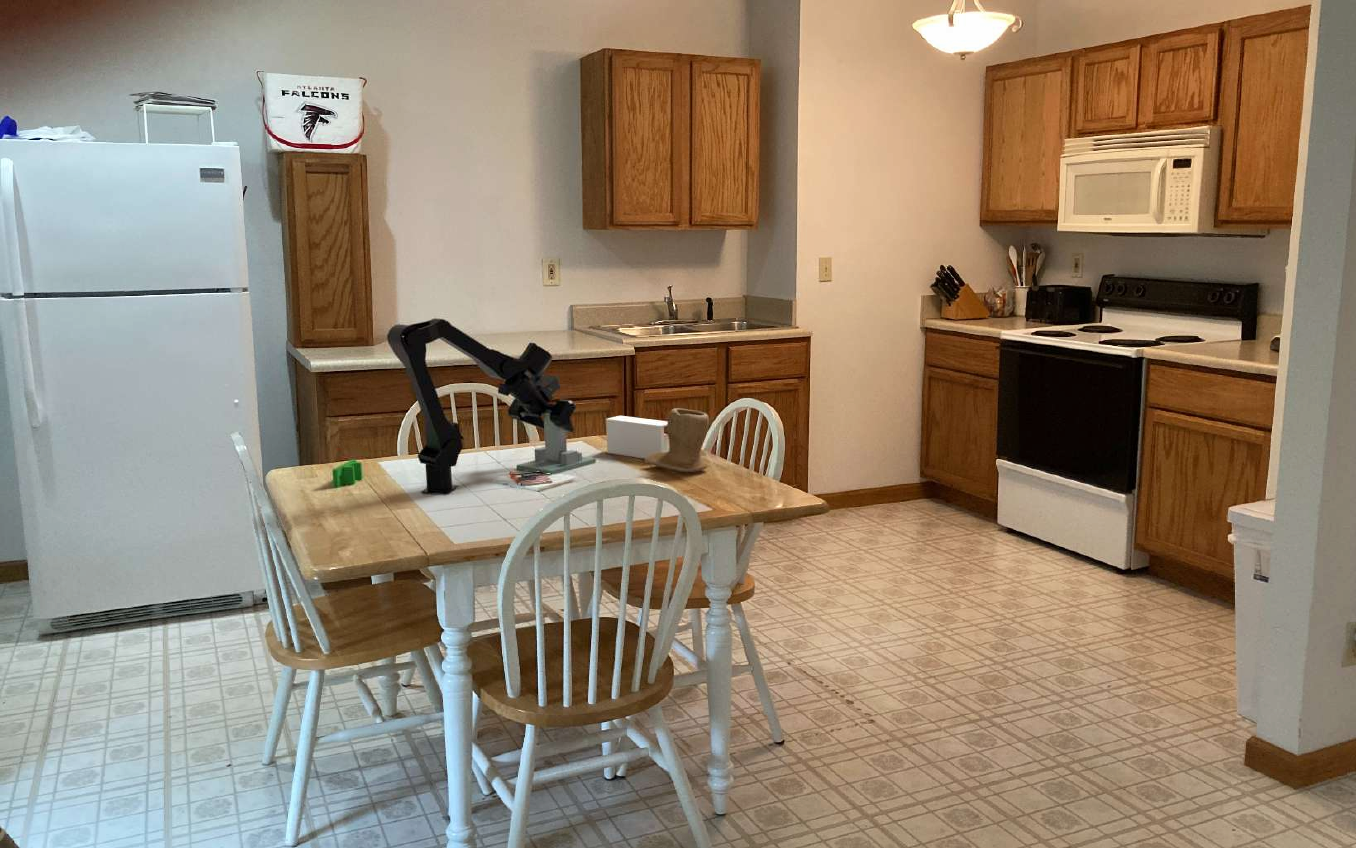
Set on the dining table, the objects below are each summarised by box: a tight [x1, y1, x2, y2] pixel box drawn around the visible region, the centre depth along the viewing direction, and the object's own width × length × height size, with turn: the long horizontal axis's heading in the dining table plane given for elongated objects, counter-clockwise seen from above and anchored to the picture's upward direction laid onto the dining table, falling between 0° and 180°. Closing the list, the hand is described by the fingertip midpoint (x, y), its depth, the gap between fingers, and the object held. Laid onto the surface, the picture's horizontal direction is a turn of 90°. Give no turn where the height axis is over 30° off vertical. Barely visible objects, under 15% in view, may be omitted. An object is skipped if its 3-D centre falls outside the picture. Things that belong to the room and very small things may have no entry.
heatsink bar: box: [543, 413, 568, 464], centre depth 273 cm, size 3×5×13 cm
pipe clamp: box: [332, 459, 364, 489], centre depth 261 cm, size 11×4×5 cm, turn 173°
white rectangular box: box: [605, 415, 669, 460], centre depth 284 cm, size 20×6×9 cm, turn 51°
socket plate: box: [516, 446, 597, 475], centre depth 274 cm, size 16×12×4 cm
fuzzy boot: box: [643, 407, 710, 473], centre depth 266 cm, size 15×12×15 cm
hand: (558, 429), depth 274 cm, fingers open, 9 cm apart
